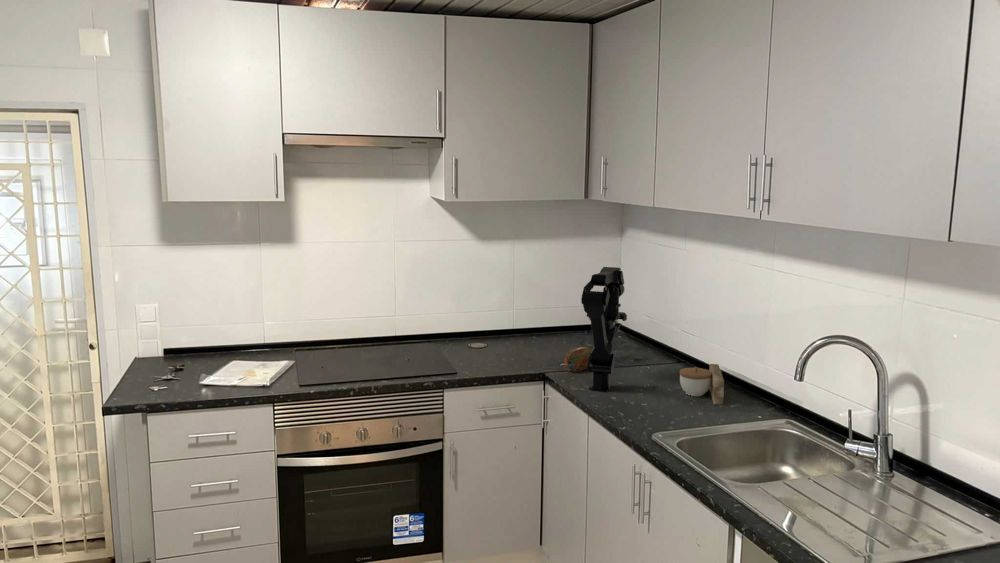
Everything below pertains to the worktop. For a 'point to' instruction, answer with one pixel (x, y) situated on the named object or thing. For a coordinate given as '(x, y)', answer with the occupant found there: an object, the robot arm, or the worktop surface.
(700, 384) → the lidded jar
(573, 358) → the tin
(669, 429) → the worktop surface
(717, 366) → the birch board
